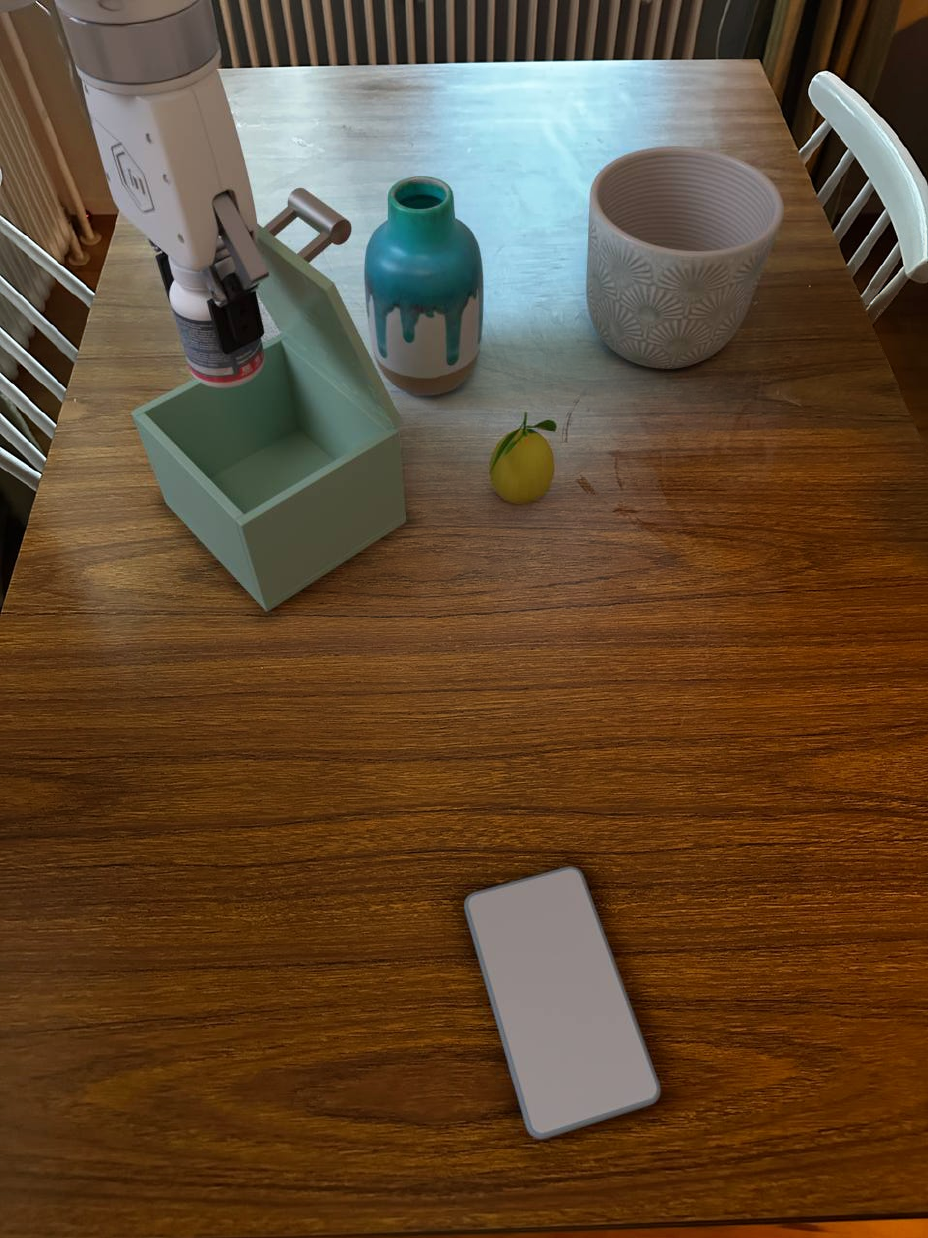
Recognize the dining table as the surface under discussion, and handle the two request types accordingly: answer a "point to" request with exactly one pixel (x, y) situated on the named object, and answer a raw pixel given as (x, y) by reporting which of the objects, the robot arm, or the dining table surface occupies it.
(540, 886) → the smartphone
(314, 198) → the box lid
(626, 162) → the planter
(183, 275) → the pill bottle
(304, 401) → the green box
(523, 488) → the lemon
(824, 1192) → the dining table surface
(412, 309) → the vase
